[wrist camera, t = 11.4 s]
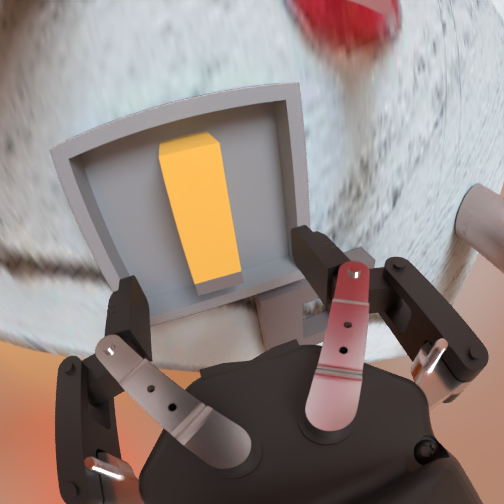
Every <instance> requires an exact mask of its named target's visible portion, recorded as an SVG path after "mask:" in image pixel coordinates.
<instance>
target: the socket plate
mask: <svg viewBox="0 0 504 504" xmlns="http://www.w3.org/2000/svg"><path fill="white" fill-rule="evenodd" d="M344 254H345V255H346V256H347V257H348V258H349V259H350V260H351V261H358V262H361V263H363V264H365V265H366V266H367V267H368V268H369V269H372V268H374V265H375V259H374V258H373V257H372V256H370V255H369V254H368V253H367V252H366V251H365V250H364V249H363V248H362V247H359V248H356V249H353V250H351V251H348V252H345V253H344ZM254 298H255V304H256V309H257V314H258V319H259V324H260V329H261V334H262V339H263V344H264V347H265V349H266V351H268V350H269V349H271V348H272V347H275V346H278V345H280V344H283V343H286V342H289V341H291V340H294V339H297V341H298V343H299V345H308V344H310V345H316V344H318V343H321V342H323V341H324V337H325V333H326V328H327V324H328V319H329V314H330V309H331V305H329V306H327V311H324V312H322V313H319V314H317V315H314V316H312V317H309V318H306V319H304V320H303V304H304V303H307V302H309V301H312V300H315V299H317V298H319V297H318V295H317V294H316V292H315V291H314V289H313V288H312V287H311V285H310V284H309V282H308V281H307V280H306V278H304V279H301V280H298V281H295V282H292V283H289V284H286V285H283V286H280V287H277V288H274V289H271V290H268V291H265V292H262V293H259V294H256V295H254Z"/></svg>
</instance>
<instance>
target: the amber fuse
mask: <svg viewBox="0 0 504 504" xmlns="http://www.w3.org/2000/svg"><path fill="white" fill-rule="evenodd" d="M159 161H160V165H161V169H162V173H163V177H164V181H165V185H166V189H167V193H168V196H169V200H170V204H171V207H172V211H173V215H174V218H175V222H176V225H177V229H178V232H179V235H180V239H181V242H182V245H183V249H184V252H185V255H186V259H187V262H188V265H189V268H190V271H191V274H192V277H193V280H194V284H195V287H196V290H197V293H198V296H200V295H204V294H207V293H211V292H214V291H218V290H221V289H225V288H228V287H232V286H235V285H239V284H242V283H244V282H243V277H242V271H241V266H240V260H239V254H238V249H237V243H236V238H235V232H234V226H233V220H232V215H231V209H230V203H229V197H228V191H227V185H226V179H225V173H224V167H223V161H222V155H221V149H220V143H219V142H218V141H217V140H216V139H215V138H214V137H213V136H211V135H210V134H209V133H208V132H207V131H202V132H198V133H193V134H189V135H185V136H181V137H177V138H173V139H169V140H165V141H161V142H160V145H159Z"/></svg>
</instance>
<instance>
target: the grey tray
mask: <svg viewBox="0 0 504 504" xmlns="http://www.w3.org/2000/svg"><path fill="white" fill-rule="evenodd" d="M202 131H207V132H208V133H209V134H210V135H211V136H213V137H214V138H215V139H216V140H217V141H218V142H219V143H220V149H221V155H222V161H223V167H224V173H225V179H226V185H227V191H228V197H229V203H230V209H231V215H232V220H233V226H234V232H235V238H236V243H237V249H238V254H239V260H240V266H241V271H242V277H243V282H244V283H242V284H239V285H235V286H232V287H228V288H225V289H221V290H218V291H214V292H211V293H207V294H204V295H200V296H198V293H197V290H196V287H195V284H194V280H193V277H192V274H191V271H190V268H189V265H188V262H187V259H186V255H185V252H184V249H183V245H182V242H181V239H180V235H179V232H178V229H177V225H176V222H175V218H174V215H173V211H172V207H171V204H170V200H169V196H168V193H167V189H166V185H165V181H164V177H163V173H162V169H161V165H160V161H159V145H160V142H161V141H165V140H169V139H173V138H177V137H181V136H185V135H189V134H193V133H198V132H202ZM50 153H51V156H52V159H53V162H54V165H55V168H56V171H57V174H58V176H59V179H60V182H61V185H62V187H63V190H64V192H65V195H66V197H67V200H68V202H69V205H70V207H71V209H72V212H73V214H74V216H75V219H76V221H77V223H78V225H79V227H80V230H81V232H82V234H83V236H84V238H85V240H86V242H87V244H88V246H89V248H90V250H91V252H92V254H93V256H94V258H95V260H96V262H97V264H98V266H99V268H100V270H101V271H102V273H103V275H104V277H105V279H106V281H107V282H108V284H109V286H110V288H111V289H112V291H113V292H114V291H117V290H118V288H119V281H120V279H122V278H125V277H129V276H132V275H134V276H135V277H136V278H137V280H138V282H139V284H140V286H141V288H142V290H143V292H144V294H145V296H146V298H147V301H148V304H149V309H150V326H153V325H156V324H160V323H163V322H167V321H171V320H174V319H178V318H181V317H184V316H188V315H191V314H195V313H198V312H201V311H205V310H208V309H211V308H215V307H218V306H221V305H224V304H228V303H231V302H234V301H237V300H240V299H243V298H247V297H250V296H253V295H256V294H259V293H262V292H265V291H268V290H271V289H274V288H277V287H280V286H283V285H286V284H289V283H292V282H295V281H298V280H301V279H304V278H305V277H304V275H303V274H302V273H301V271H300V270H299V269H298V267H297V266H296V264H295V262H294V259H293V256H292V245H291V229H292V228H295V227H299V226H302V225H307V226H308V227H309V228H310V212H309V190H308V173H307V158H306V145H305V133H304V122H303V112H302V103H301V94H300V85H299V83H275V84H266V85H258V86H250V87H244V88H237V89H231V90H225V91H220V92H215V93H210V94H205V95H200V96H196V97H191V98H187V99H183V100H179V101H175V102H171V103H167V104H164V105H160V106H157V107H153V108H150V109H147V110H143V111H140V112H137V113H134V114H131V115H128V116H125V117H122V118H120V119H117V120H114V121H111V122H109V123H106V124H103V125H101V126H98V127H96V128H93V129H91V130H89V131H86V132H84V133H82V134H79V135H77V136H75V137H73V138H70V139H68V140H66V141H64V142H62V143H61V144H59V145H57V146H56V147H54V148H52V149H51V150H50Z"/></svg>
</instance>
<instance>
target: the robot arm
mask: <svg viewBox="0 0 504 504" xmlns="http://www.w3.org/2000/svg"><path fill="white" fill-rule="evenodd" d="M455 229H456V234H457V236H458V237H460V238H461V239H462V240H464V241H465V242H466V243H467V244H469V245H470V246H471V247H473V248H474V249H475V250H476V251H477V252H479V253H480V254H481V255H482V256H484V257H485V258H487V260H488V261H490V262H491V263H492V264H493V265H494V266H496V267H497V268H498V269H499V270H500V271H501V272H502V273H504V198H503V197H501V196H500V195H498V194H497V193H495V192H494V191H492V190H490V189H488V188H487V187H485V186H483V185H482V184H476V185H474V186H473V187H472V188H471V189H470V190H469V191H468V193H467V194H466V196H465V198H464V200H463V202H462V204H461V206H460V209H459V212H458V215H457V219H456V227H455ZM291 245H292V256H293V259H294V262H295V264H296V266H297V267H298V269H299V270H300V271H301V273H302V274H303V275H304V277H305V278H306V280H307V281H308V282H309V284H310V285H311V287H312V288H313V289H314V291H315V292H316V294H317V295H318V297H319V298H320V299H321V301H322V302H323V304H324V305H325V307H327V306H329V305H331V309H330V314H329V319H328V324H327V328H326V333H325V337H324V341H323V345H322V346H319V345H310V344H308V345H299V343H298V341H297V339H294V340H291V341H289V342H286V343H283V344H280V345H278V346H275V347H272V348H271V349H269V350H268V351H266V352H264V353H263V354H261V355H259V356H258V357H256V358H254V359H253V360H250V361H243V362H232V363H222V364H219V365H215V366H212V367H208V368H205V369H201V370H200V374H201V377H200V378H199V379H197V380H196V381H194V382H193V383H192V384H191V385H189V386H188V387H187V388H186V389H185V390H184V389H182V388H181V387H180V386H179V385H177V384H176V383H175V382H173V381H172V380H171V379H170V378H168V377H167V376H166V375H165V374H164V373H162V372H161V371H160V370H159V369H158V368H156V367H155V366H154V365H153V364H152V363H150V362H151V361H152V351H151V334H150V309H149V304H148V301H147V298H146V296H145V294H144V292H143V290H142V288H141V286H140V284H139V282H138V280H137V278H136V277H135V276H134V275H132V276H129V277H125V278H122V279H120V281H119V288H118V290H117V291H114V292H113V294H112V295H111V297H110V299H109V304H108V311H107V319H106V328H105V337H104V338H102V339H101V340H100V341H99V342H98V344H97V346H96V349H95V354H93V355H91V356H90V357H88V358H86V359H84V360H83V361H81V360H80V359H79V358H78V357H77V356H70V357H67V358H66V359H64V360H63V361H62V363H61V364H60V366H59V369H58V376H57V390H56V408H55V440H56V441H55V443H56V461H57V472H58V482H59V489H60V494H61V497H62V499H63V500H64V502H65V503H66V504H483V503H482V501H481V499H480V498H479V496H478V494H477V492H476V490H475V489H474V487H473V485H472V483H471V481H470V480H469V478H468V476H467V475H466V473H465V471H464V470H463V468H462V466H461V465H460V463H459V462H458V460H457V459H456V458H455V457H454V456H453V455H452V454H451V453H450V452H448V451H447V450H446V449H445V448H444V447H443V446H442V445H441V444H440V443H439V442H438V441H437V439H436V438H435V436H434V434H433V431H432V427H431V423H430V417H429V411H430V410H431V409H433V408H434V407H436V406H437V405H439V404H440V403H441V402H443V403H449V402H452V401H453V400H454V399H455V398H456V397H457V396H458V395H459V394H460V393H461V392H462V391H463V390H464V389H465V388H466V387H467V386H468V385H469V384H470V383H471V382H472V381H473V380H474V379H475V378H476V376H477V375H478V374H479V373H480V372H481V371H482V370H483V368H484V367H485V366H486V365H487V362H488V352H487V349H486V347H485V346H484V345H483V343H482V342H481V341H480V340H479V338H478V337H477V336H476V334H475V333H474V332H473V331H472V330H471V328H470V327H469V326H468V325H467V324H466V322H465V321H464V320H463V319H462V318H461V316H459V314H458V313H457V312H456V311H455V309H453V307H452V306H451V305H450V304H449V303H448V302H447V300H446V299H445V298H444V297H443V296H442V295H441V294H440V293H439V292H438V291H437V290H436V288H435V287H434V286H433V285H432V284H431V283H430V282H429V281H428V280H427V279H426V278H425V277H424V276H423V275H422V274H421V273H420V272H419V271H418V270H417V269H416V268H415V267H414V266H413V265H412V264H411V263H410V262H409V261H408V260H406V259H404V258H402V257H391V258H389V259H387V260H386V262H385V266H384V267H381V268H372V269H369V268H368V267H367V266H366V265H365V264H363V263H361V262H358V261H351V260H350V259H349V258H348V257H347V256H346V255H345V254H344V253H343V252H342V251H341V250H340V249H339V248H338V247H336V245H335V244H334V243H333V242H332V241H331V240H330V239H329V238H328V237H327V236H326V235H324V234H322V233H320V232H318V231H316V232H312V231H311V229H310V228H309V227H308V226H307V225H302V226H299V227H295V228H292V229H291ZM377 312H378V313H379V315H380V316H381V317H382V319H383V320H384V321H385V323H386V324H387V326H388V327H389V328H390V330H391V331H392V333H393V334H394V335H395V337H396V338H397V340H398V341H399V343H400V344H401V346H402V347H403V348H404V350H405V351H406V353H407V354H408V356H409V357H410V359H411V360H412V362H413V364H412V365H411V374H412V376H413V379H414V382H413V381H411V380H409V379H407V378H404V377H401V376H398V375H395V374H392V373H390V372H387V371H384V370H382V369H379V368H377V367H374V366H371V365H369V364H366V363H364V356H365V348H366V339H367V329H368V318H369V314H370V313H377ZM124 391H126V392H127V393H128V394H129V395H130V396H131V397H132V398H133V399H134V400H135V401H136V402H137V403H138V404H139V405H140V406H141V407H142V408H143V409H144V410H145V411H146V412H147V413H148V414H149V415H150V416H151V417H152V418H153V419H154V420H156V422H158V423H159V424H160V425H161V426H162V427H163V428H164V429H163V431H162V433H161V434H160V436H159V438H158V440H157V442H156V444H155V446H154V448H153V450H152V451H151V453H150V455H149V457H148V459H147V461H146V463H145V465H144V467H143V469H142V470H141V473H140V476H139V480H138V479H137V478H136V476H135V475H134V472H133V470H132V468H131V466H130V465H129V464H128V463H127V462H125V461H123V460H122V459H121V453H120V447H119V441H118V434H117V427H116V417H115V408H114V397H115V396H116V395H118V394H120V393H122V392H124Z"/></svg>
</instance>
